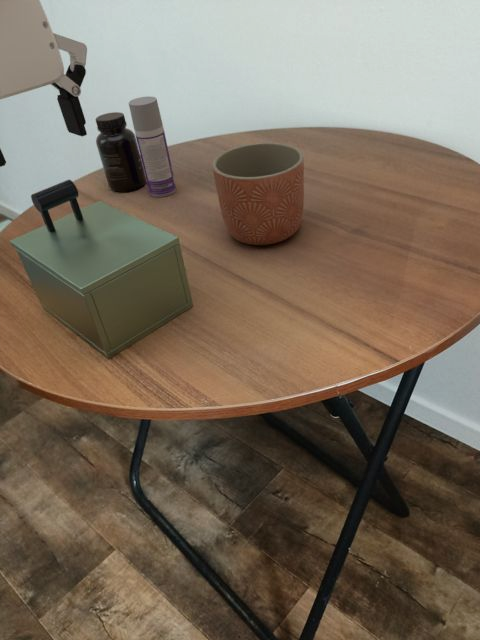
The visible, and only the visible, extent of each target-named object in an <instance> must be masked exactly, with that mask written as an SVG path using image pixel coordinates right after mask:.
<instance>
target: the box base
mask: <svg viewBox="0 0 480 640" xmlns="http://www.w3.org/2000/svg"><path fill="white" fill-rule="evenodd" d="M15 251H16V253H17V256H18V258H19V259H20V261H21V264H22V266H23V268H24V270H25V273H26V275H27V276H28V279H29V281H30V283H31V287H32V288H33V290H34V292H35V295H36V297H37V298H38V302H40V305H41V308H42V309H43V310H44V311H46V312H47V313H48V314H49V315H50V316H52V317H53V318H54V319H56V320H57V321H58V322H60V323H61V324H62V325H64V327H66V328H67V329H69V330H70V331H71V332H73V333H74V334H75V335H76V336H78V337H79V339H82V340H83V341H84V342H85V343H87V344H88V345H89V346H90V347H92V348H93V349H94V350H96V351H97V352H98V353H100V354H101V355H102V356H103V357H105V358H106V359H107V360H110V359H111V358H113V357H114V356H116V355H118V354H119V353H121V352H123V351H124V350H126V349H127V348H129V347H131V346H132V345H134V344H135V343H137V342H139V341H140V340H141V339H143V338H145V337H147V336H148V335H149V334H152V333H154V331H156V330H158V329H160V328H161V327H162V326H164V325H165V324H167V323H169V322H171V321H173V319H175V318H177V317H178V316H180V315H182V314H183V313H185V312H186V311H188V310H189V309H191V308H193V307H194V303H193V298H192V294H191V288H190V284H189V280H188V276H187V271H186V266H185V261H184V257H183V252H182V249H181V244H180V243H179V244H177V245H175V246H173V247H171V248H170V249H168V250H166V251H164V252H162V253H160V254H158V255H157V256H155V257H153V258H151V259H149V260H147V261H145V262H144V263H142V264H140V265H138V266H136V267H134V268H132V269H131V270H129V271H127V272H125V273H123V274H121V275H120V276H118V277H116V278H114V279H112V280H110V281H108V282H107V283H105V284H103V285H101V286H99V287H97V288H95V289H94V290H92V291H90V292H88V293H86V294H84V295H83V294H81V293H80V292H78V291H77V290H75V289H74V288H72V287H71V286H70V285H68V284H67V283H65V282H64V281H62V280H61V279H59V278H58V277H56V276H55V275H53V274H52V273H51V272H49V271H48V270H46V269H45V268H43V267H42V266H40V265H39V264H37V263H36V262H34V261H33V260H32V259H30V258H29V257H27V256H26V255H24V254H23V253H21V252H20V251H18V250H17V249H15Z"/></svg>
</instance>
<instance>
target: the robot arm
mask: <svg viewBox="0 0 480 640" xmlns="http://www.w3.org/2000/svg"><path fill="white" fill-rule="evenodd" d="M60 51H63V52H65V53H67V54H68V55H69V61H70V62H69V65H68V67H67V68H66V69H67V70H66V72H65V67H64V62H63V58H62V55H61V52H60ZM87 54H88V47H87V45H86V44H85V43H83V42H81V41H78V40H75V39H72V38H69V37H66V36H63V35H60V34H57V33H55V32H53V29H52V27H51V25H50V22H49V19H48V16H47V15H46V12H45V10H44V8H43V6H42V3H41V0H0V100H3V99H6V98H10V97H14V96H17V95H20V94H23V93H24V94H25V93H27V92H30V91H33V90H35V89H36V90H37V89H39V88H43V87H47V86H49V85H50V86H52V87H53V88H54V89H56V90H57V91H58V93H59V94H57V96H56V97H57V98H56V100H57V104H58V106H59V109H60V112H61V116H62V118H63V121H64V124H65V126H66V130H67V132H68V133H69V134H73V135H75V136H79V137H85V136H87V130H86V126H85V125H86V124H87V122H86V118H85V115H84V111H83V108H82V105H81V102H80V99H79V96H81V93H82V87H81V86H82V84H83V81H84V79H85V77H86V74H87V69H86V68H85V67H86V64H87V57H88V56H87ZM6 164H7V161H6V158H5V156H4V154H3V151H2V149H1V148H0V168H2V167H5V166H6Z"/></svg>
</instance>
